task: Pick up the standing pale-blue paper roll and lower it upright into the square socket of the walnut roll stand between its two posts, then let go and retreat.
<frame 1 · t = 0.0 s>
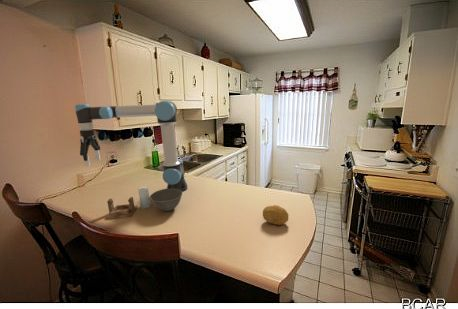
hand: (93, 162, 139), 28 cm above the counter, fingers open, 13 cm apart
roll: (145, 206, 138), on the counter
bowl: (168, 209, 132), on the counter
stand: (122, 212, 131), on the counter
potato: (275, 223, 113), on the counter
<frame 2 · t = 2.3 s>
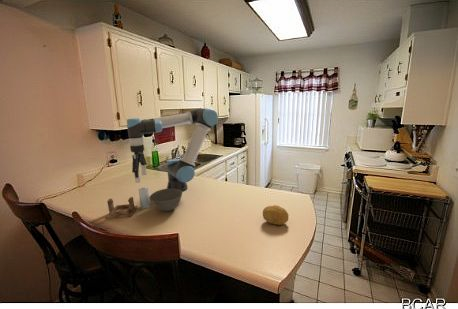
hand: (141, 178, 133), 19 cm above the counter, fingers open, 13 cm apart
nothing on the counter moved.
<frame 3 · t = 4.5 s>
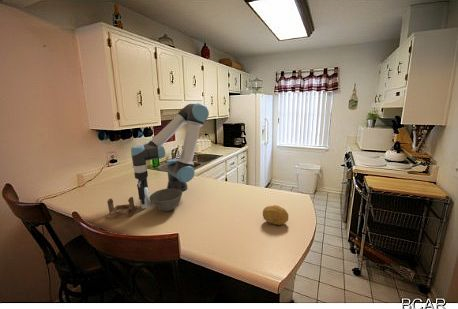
hand: (145, 205, 137), 0 cm above the counter, fingers closed on roll, 5 cm apart
roll: (145, 206, 138), on the counter, touching gripper
everything else where it was.
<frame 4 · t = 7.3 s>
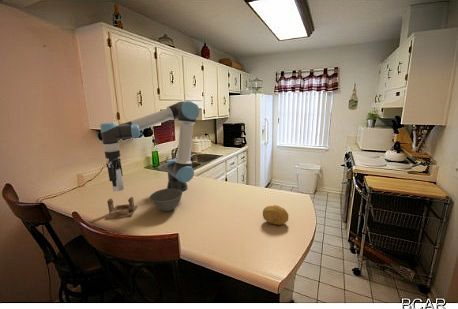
hand: (118, 189, 127), 15 cm above the counter, fingers closed on roll, 5 cm apart
roll: (118, 189, 127), point 15 cm above the counter, touching gripper
everything else where it was.
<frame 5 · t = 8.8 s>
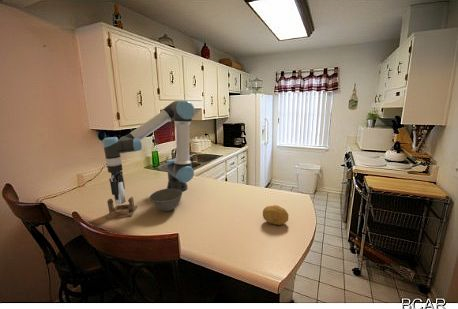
hand: (120, 201, 129), 7 cm above the counter, fingers closed on roll, 5 cm apart
roll: (120, 202, 129), point 7 cm above the counter, touching gripper
everything else where it was.
when the fingers open (4 cm above the counter, at t = 10.0 s): roll drops 2 cm, resting on stand.
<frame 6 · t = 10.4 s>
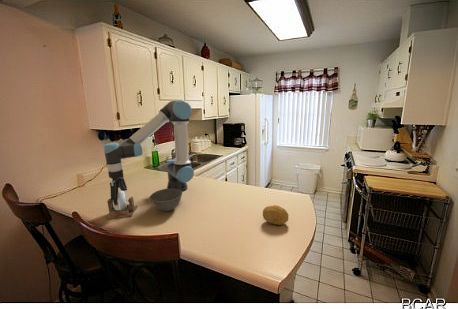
hand: (121, 205, 129), 5 cm above the counter, fingers open, 11 cm apart
roll: (122, 211, 130), point 1 cm above the counter, touching stand
everything else where it was.
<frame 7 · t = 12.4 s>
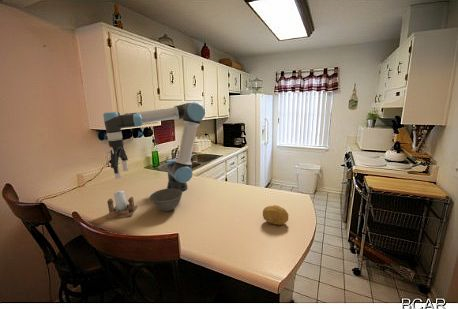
hand: (122, 174, 129), 23 cm above the counter, fingers open, 13 cm apart
nothing on the counter moved.
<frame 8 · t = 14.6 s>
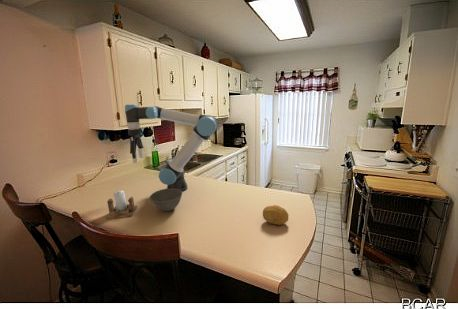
hand: (138, 160, 145), 27 cm above the counter, fingers open, 13 cm apart
nothing on the counter moved.
at the end: roll 0.0 cm off-centre on the stand, point 1.0 cm above the stand's base; roll tilted 0°; the gripper is holding nothing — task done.
